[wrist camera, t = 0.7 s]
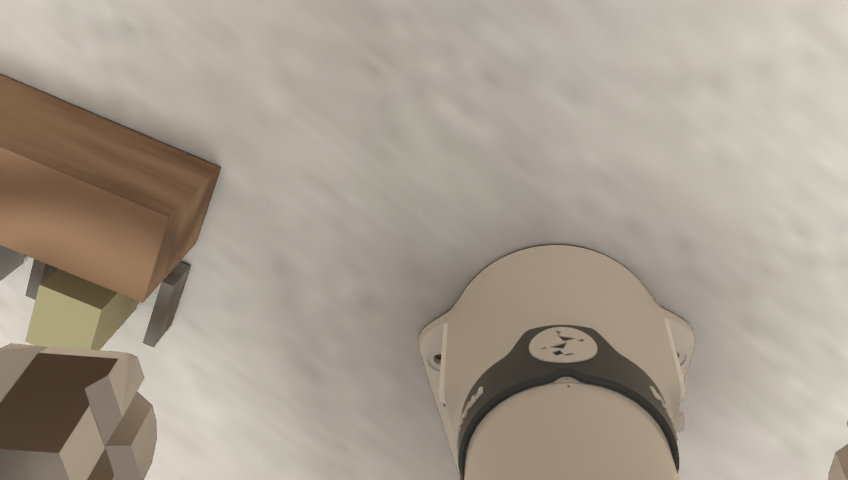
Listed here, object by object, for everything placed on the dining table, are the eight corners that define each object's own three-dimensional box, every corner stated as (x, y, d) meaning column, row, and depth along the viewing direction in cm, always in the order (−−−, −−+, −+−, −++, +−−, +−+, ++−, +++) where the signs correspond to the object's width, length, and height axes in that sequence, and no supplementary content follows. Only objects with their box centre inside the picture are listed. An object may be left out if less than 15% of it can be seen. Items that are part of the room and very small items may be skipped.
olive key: (135, 308, 58) (85, 365, 52) (83, 287, 58) (25, 341, 51) (151, 258, 57) (101, 309, 50) (97, 236, 56) (39, 284, 49)
